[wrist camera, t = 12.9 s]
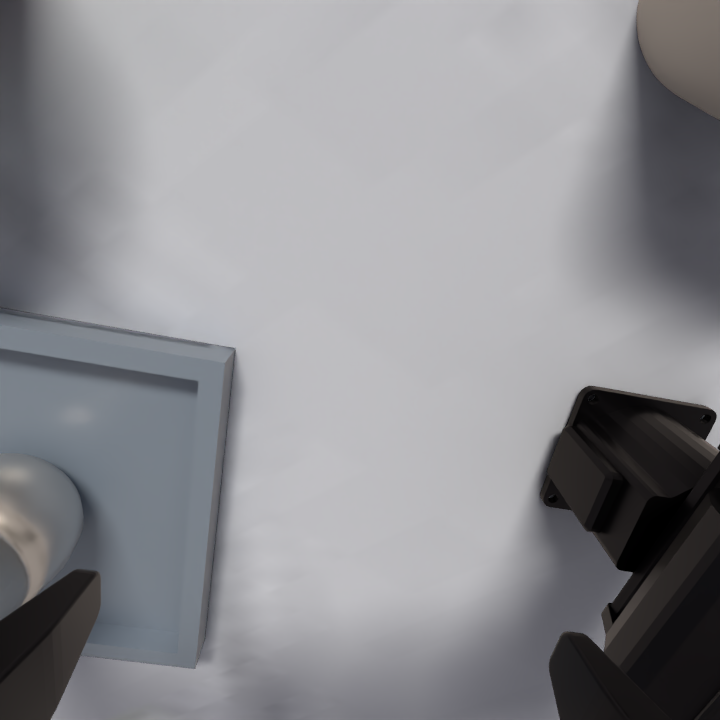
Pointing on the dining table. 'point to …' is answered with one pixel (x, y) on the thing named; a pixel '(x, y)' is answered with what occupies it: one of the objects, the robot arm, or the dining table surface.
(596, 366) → the dining table surface
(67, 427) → the blue-gray tray
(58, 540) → the plastic bottle
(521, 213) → the dining table surface
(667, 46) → the beige lumpy box
